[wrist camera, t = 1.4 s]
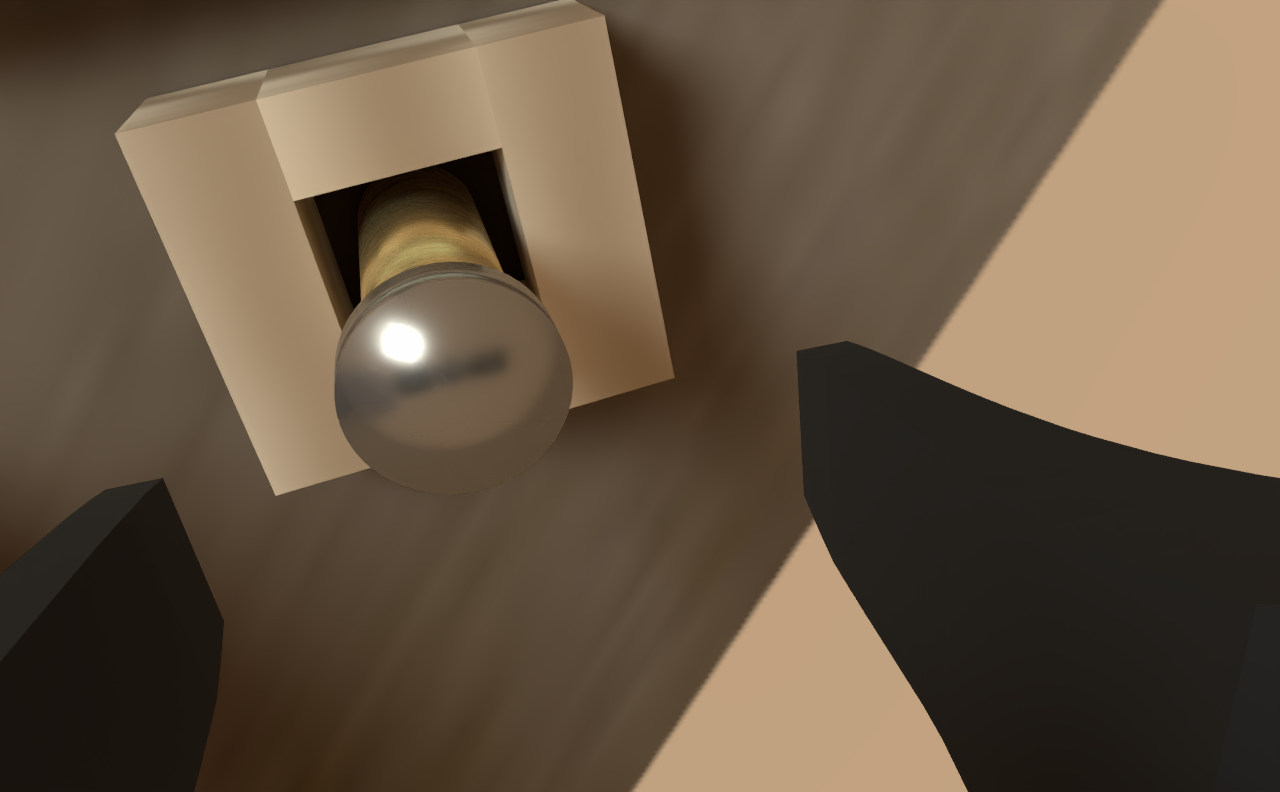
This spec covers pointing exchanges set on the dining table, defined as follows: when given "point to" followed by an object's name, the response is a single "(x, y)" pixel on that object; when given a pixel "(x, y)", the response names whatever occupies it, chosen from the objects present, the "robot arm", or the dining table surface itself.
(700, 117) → the dining table surface
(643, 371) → the lock block
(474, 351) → the pin
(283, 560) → the dining table surface
